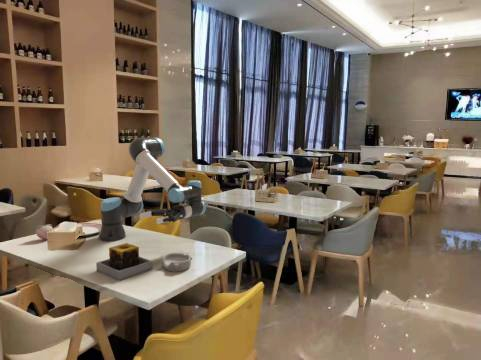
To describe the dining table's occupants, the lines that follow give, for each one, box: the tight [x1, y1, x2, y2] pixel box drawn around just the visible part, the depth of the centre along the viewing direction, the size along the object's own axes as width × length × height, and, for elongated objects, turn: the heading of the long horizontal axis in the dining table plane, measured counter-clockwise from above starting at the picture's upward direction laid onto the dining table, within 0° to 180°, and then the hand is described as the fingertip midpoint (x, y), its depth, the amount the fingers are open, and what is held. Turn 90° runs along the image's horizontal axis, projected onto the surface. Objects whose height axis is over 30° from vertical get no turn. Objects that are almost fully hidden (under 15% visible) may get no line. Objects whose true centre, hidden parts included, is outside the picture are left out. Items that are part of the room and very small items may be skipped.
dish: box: [161, 252, 193, 272], centre depth 188 cm, size 14×14×5 cm
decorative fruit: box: [35, 222, 54, 241], centre depth 230 cm, size 9×8×10 cm
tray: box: [95, 256, 153, 282], centre depth 183 cm, size 18×18×4 cm
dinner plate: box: [76, 222, 102, 237], centre depth 246 cm, size 28×27×3 cm
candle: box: [108, 242, 140, 271], centre depth 183 cm, size 10×10×10 cm
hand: (148, 218), depth 194 cm, fingers open, 13 cm apart
